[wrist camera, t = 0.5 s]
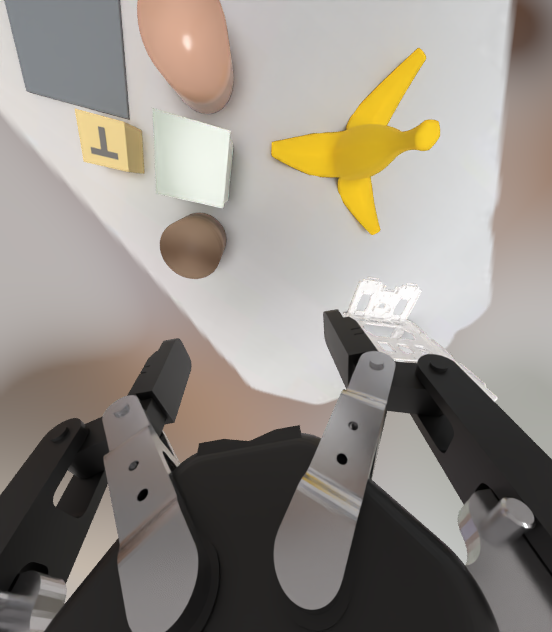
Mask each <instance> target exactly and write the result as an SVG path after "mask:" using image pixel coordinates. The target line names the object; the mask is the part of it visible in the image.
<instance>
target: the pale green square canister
mask: <svg viewBox="0 0 552 632" xmlns="http://www.w3.org/2000/svg"><path fill="white" fill-rule="evenodd" d="M153 131H154V155H155V178H156V194H160V195H164V196H169V197H173V198H178V199H182V200H187V201H192V202H196V203H201V204H205V205H210V206H214V207H219V208H224V204H225V203H226V202H227V201H228V198H229V188H230V178H231V168H232V157H233V147H234V146H233V144H232V141H231V139H230V135H231V131H230V130H227V129H223V128H220V127H216V126H213V125H209V124H206V123H202V122H199V121H195V120H192V119H188V118H185V117H181V116H178V115H174V114H171V113H167V112H164V111H161V110H157V109H154V108H153Z"/></svg>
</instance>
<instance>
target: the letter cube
mask: <svg viewBox="0 0 552 632" xmlns="http://www.w3.org/2000/svg"><path fill="white" fill-rule="evenodd" d="M75 113H76V119H77V125H78V131H79V136H80V142H81V148H82V154H83V160H84V162H88V163H92V164H96V165H101V166H105V167H109V168H114V169H118V170H122V171H126V172H134V173H144V160H143V144H142V131H141V130H139V129H137V128H135V127H133V126H131V125H129V124H127V123H125V122H122V121H119V120H115V119H111V118H108V117H104V116H100V115H96V114H93V113H89V112H85V111H82V110H78V109H75Z"/></svg>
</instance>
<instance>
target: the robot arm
mask: <svg viewBox="0 0 552 632" xmlns="http://www.w3.org/2000/svg"><path fill="white" fill-rule="evenodd" d="M323 319H324V336H325V341H326V344H327V347H328V349H329V351H330V353H331V356H332V358H333V360H334V362H335V365H336V367H337V369H338V371H339V374H340V376H341V378H342V380H343V383H344V385H345V387H346V389H347V390H345V389H344V390H343V391H342V392H341V394H340V396H339V399H338V401H337V404H336V406H335V408H334V410H333V413H332V415H331V418H330V420H329V422H328V424H327V427H326V429H325V431H324V434H323V436H322V438H319V437H316V436H314V435H310V434H304V433H301V431H300V426H299V425H298V426H293V427H287V428H282V429H276V430H273V431H271V432H269V433H266V434H264V435H262V436H260V437H258V438H255V439H253V440H251V441H239V440H229V439H221V440H215V441H210V442H204V443H199V448H198V452H197V453H196V454H194V455H192V456H191V457H189V458H187V459H186V460H185V461H183V462H182V463H181V464H180V462H179V461H178V459H177V457H176V455H175V453H174V451H173V449H172V447H171V445H170V443H169V441H168V439H167V437H166V435H165V433H164V431H163V427H164V424H169V423H174V422H175V419H176V416H177V413H178V409H179V406H180V403H181V400H182V397H183V394H184V390H185V387H186V384H187V381H188V378H189V374H190V371H191V360H190V357H189V355H188V353H187V351H186V349H185V347H184V345H183V343H182V342H181V340H180V339H178V338H177V339H171V340H166V341H163V343H162V345H161V346H160V349H159V350H158V351H156V352H155V353H154V354H153V355H152V356H151V357H150V358H149V359H148V360H147V362H146V364H145V365H144V368H143V369H142V371H141V374H139V376H138V378H137V379H136V381H135V383H134V385H133V387H132V388H131V390H130V392H129V394H128V395H127V396H125V397H123V398H120V399H119V400H117V401H115V402H114V403H113V404H112V405H110V406H109V407H108V409H107V410H106V411H105V413H104V415H103V417H101V418H98V419H96V420H94V421H91V422H89V423H87V424H84V423H83V422H82V421H81V420H80V419H78V418H73V419H69V420H66V421H64V422H62V423H60V424H58V425H57V426H56V427H54V428H53V429H52V430H50V431H49V432H48V433H47V434H46V435H45V437H44V438H43V439H42V440H41V441H40V443H39V444H38V445H37V447H36V448H35V450H34V451H33V452H32V454H31V455H30V456H29V458H28V459H27V460H26V462H25V463H24V464H23V466H22V467H21V468H20V470H19V471H18V472H17V474H16V475H15V477H14V478H13V479H12V481H11V482H10V483H9V484H8V486H7V487H6V489H5V490H4V491H3V492H2V494H1V495H0V632H552V459H551V458H550V457H549V456H548V455H547V454H546V453H545V452H544V451H543V450H542V449H541V448H540V447H539V446H538V445H537V444H536V443H535V442H533V440H532V439H531V438H530V437H529V436H528V435H527V434H526V433H525V432H524V431H523V430H522V429H521V428H520V427H519V426H518V425H517V424H516V423H515V422H514V421H513V420H512V419H511V418H510V417H509V416H508V415H507V414H506V413H505V412H504V411H503V410H502V409H501V408H500V407H499V406H498V405H497V404H496V403H495V402H494V401H493V400H492V399H491V398H490V397H489V396H488V395H487V394H486V393H485V392H484V391H483V390H482V389H481V388H480V387H479V386H478V385H477V384H476V383H475V382H474V381H473V380H472V379H471V378H470V377H469V376H468V375H467V374H466V373H465V372H464V371H463V370H462V369H461V368H460V367H459V366H458V365H457V364H456V363H455V362H454V361H452V360H451V359H449V358H447V357H444V356H441V355H436V354H427V355H423V356H421V357H420V358H419V359H418V362H417V363H404V362H396V361H394V360H393V359H392V358H391V357H390V356H389V355H387V354H385V353H382V352H379V351H378V350H377V349H376V347H375V346H374V344H373V343H372V342H371V340H370V339H369V337H368V336H367V335H366V333H365V332H364V331H363V329H362V328H361V326H360V325H359V324H358V322H357V321H356V320H354V319H352V318H351V317H349V316H348V317H342V315H341V314H340V312H339V310H338V309H336V310H331V311H325V312H324V313H323ZM387 411H395V412H403V413H410V415H411V416H412V418H413V420H414V421H415V423H416V425H417V426H418V428H419V430H420V431H421V433H422V435H423V436H424V438H425V440H426V442H427V443H428V445H429V447H430V448H431V450H432V452H433V453H434V455H435V457H436V458H437V460H438V462H439V463H440V465H441V467H442V468H443V470H444V472H445V473H446V475H447V477H448V479H449V480H450V482H451V484H452V485H453V487H454V489H455V490H456V492H457V494H458V495H459V497H460V499H461V500H462V502H463V504H464V506H463V507H462V508H461V510H460V511H459V514H458V525H459V528H460V532H461V534H462V536H463V539H464V541H465V544H466V548H467V563H466V566H465V565H464V564H463V562H462V561H461V560H460V559H459V558H458V556H456V554H455V553H454V552H453V551H452V550H451V549H450V548H449V547H448V546H447V545H446V544H445V543H444V542H442V541H441V540H440V539H439V538H438V537H437V536H436V535H434V534H433V533H432V532H431V531H430V530H429V529H428V528H426V527H425V526H424V525H423V524H422V523H421V522H420V521H418V520H417V519H416V518H415V517H414V516H413V515H412V514H410V513H409V512H408V511H407V510H406V509H405V508H403V507H402V506H401V505H400V504H399V503H398V502H397V501H395V500H394V499H393V498H392V497H391V496H390V495H389V494H387V493H386V492H385V491H384V490H383V489H382V488H380V487H379V486H378V485H377V484H376V483H375V482H374V481H372V476H373V472H374V468H375V463H376V458H377V454H378V449H379V444H380V440H381V436H382V431H383V427H384V422H385V418H386V414H387ZM67 470H68V471H70V472H71V473H73V474H74V475H73V477H72V479H71V481H70V482H69V484H68V486H67V488H66V490H65V491H64V493H63V495H62V497H61V499H60V501H59V502H58V504H57V506H56V507H55V506H54V504H53V496H54V493H55V491H56V489H57V487H58V486H59V484H60V482H61V480H62V479H63V477H64V475H65V473H66V472H67ZM107 484H108V486H109V491H110V497H111V501H112V507H113V512H114V517H115V522H116V527H117V532H118V537H119V538H118V539H117V540H116V542H115V543H114V544H113V545H112V546H111V548H110V549H109V550H108V551H107V553H106V554H105V555H104V556H103V558H102V559H101V560H100V561H99V562H98V564H97V565H96V566H95V567H94V569H93V570H92V571H91V572H90V574H89V575H88V576H87V577H86V578H85V580H84V581H83V582H82V583H81V585H80V586H79V587H78V588H77V590H76V591H75V592H74V593H73V594H72V596H71V597H70V598H69V599H68V601H67V602H66V603H65V604H64V602H65V598H66V582H67V579H68V577H69V574H70V572H71V570H72V567H73V565H74V562H75V560H76V558H77V556H78V553H79V551H80V548H81V546H82V544H83V541H84V539H85V537H86V534H87V532H88V529H89V527H90V524H91V522H92V520H93V518H94V515H95V513H96V510H97V508H98V506H99V503H100V501H101V499H102V496H103V494H104V491H105V489H106V487H107Z"/></svg>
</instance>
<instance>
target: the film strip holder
mask: <svg viewBox="0 0 552 632" xmlns="http://www.w3.org/2000/svg"><path fill="white" fill-rule="evenodd" d="M368 278H372V277H368ZM368 278H367V279H363V281H359V283H358V286H357V289H356V291H355V293H354V296H353V299H352V301H351V304H350V307H349V309H348V312H347V313H343V317H348V316H349V317H351V318H352V319H354V320H356V321H357V322H358V324H359V325H360V326H361V328H362V329H363V331H364V332H365V333H366V335H367V336H368V337H369V339H370V340H371V342H372V343H373V344H374V346H375V347H376V349H377V350H378V351H379V352H382V353H385V354H387V355H389V356H390V357H391V358H392V359H393V360H406V361H418V359H419V358H420V357H421V356H423V355H424V354H423V353H422V352H425V353H428V354H436V355H441V356H444V357H447V358H449V359H451V360H452V361H454V362H455V363H456V364H457V365H458V366H459V367H460V368H461V369H462V370H463V371H464V372H465V373H466V374H467V375H468V376H469V377H470V378H471V379H472V380H473V381H474V382H475V383H476V384H477V385H478V386H479V387H480V388H481V389H482V390H483V391H484V392H485V393H486V394H487V395H488V396H489V397H490V398H491V399H492V400H493V401H494V402H495V401H496V400H497V399H498V398H497V396H496V395H495V394H494V393H492V392H491V391H490V390H489V389H488V388H487V387H485V386H486V384H485V383H484V382H483V381H482V380H480V379H479V378H478V377H477V376H476V375H474V374H473V373H472V372H471V371H470V370H469V369H467V368H466V367H465V366H464V365H463V364H461V363H457V362H456V361H455V360H454V359H453V358H452V355H451V354H450V353H449V352H447V351H446V350H445V349H444V348H443V347H442V346H440V345H439V344H438V343H437V342H436V341H434V340H432V339H430V338H428V337H427V336H426V335H427V334H426V333H425V332H424V331H423V330H421V329H420V328H419V327H418V326H417V325H416V324H414V323H413V322H411V321H409V320H407V318H408V316H409V315H410V313H411V311H412V309H413V307H414V305H415V304H416V301H417V299H418V297H419V295H420V294H421V292H422V290H419V289H420V288H419V287H417V286H418V285H417V284H412V285H417V286H416V287H414V286H408V285H407V284H411V283H406V285H402V286H401V287H395V289H394V290H391V291H387V290H388V289H386V286H387V285H383V284H381V283H382V282H381V281H379V280H380V279H378V278H372V279H378V281H374V280H368ZM366 281H367V283H366ZM377 282H378V283H377ZM405 287H406V288H405ZM385 290H386V291H385ZM362 291H363V293H362ZM392 291H393V292H392ZM372 293H373V294H372ZM362 294H367V295H371V297H370V300H369V303H368V306H367V307H366V309H365V310H364V311H359V310H356V307H357V303H358V302H359V300H360V298H361V296H362ZM383 294H384V295H383ZM389 296H390V297H389ZM400 296H401V298H400ZM409 298H410V299H409ZM400 299H404V300H408V302H407V304H406V306H405V309H404V311H403V312H402V313H401V315H392V314H393V311H394V309H395V307H396V305H397V304H398V302H399V300H400ZM380 303H384V304H385V306H384V308H379V305H380ZM354 312H355V313H354ZM363 313H364V314H363ZM355 314H356V315H355ZM360 315H362V316H360ZM390 316H391V317H390ZM399 317H400V318H399ZM357 319H364V320H366V321H359V320H357ZM394 319H398V320H394ZM368 320H373V321H376V322H369V321H368ZM377 322H378V323H377ZM383 322H389V323H390V324H385V323H383ZM395 323H398V324H402V325H396V324H395ZM364 324H368V325H377V326H386V327H395V329H394V331H393V332H392V334H391V336H390V337H382V336H375V335H373V334H372V333H370V332H369V331H367V330H365V329H364ZM404 331H407V332H409V333H410V334H412V335H413V336H414V339H415V340H411V339H401V337H402V334H403V333H404ZM379 343H383V344H388V345H389V346H390V347H391V348H392V350H393V351H395V352H388V351H385V350H384V349H383V348H382V347H381V346H380V345H379ZM398 345H399V346H403V347H406V348H409V349H410V350H411V351H413V354H411V353H405V352H404V351H403V350H401V349H400V348H399V346H398ZM418 347H423V348H424V349H421V348H418ZM425 349H426V350H425ZM420 351H422V352H420Z"/></svg>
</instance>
